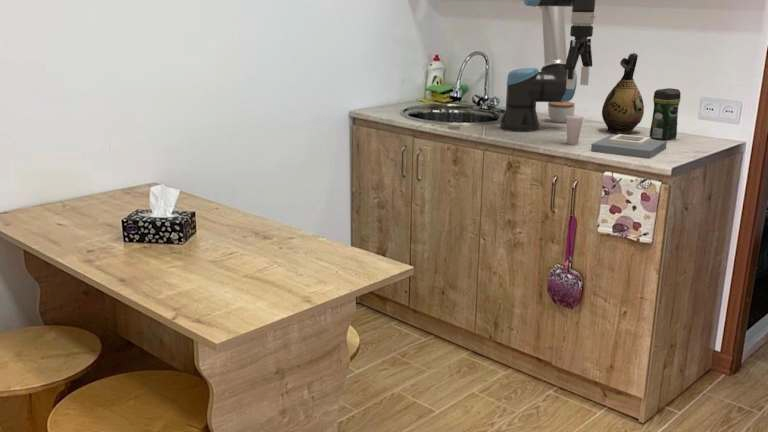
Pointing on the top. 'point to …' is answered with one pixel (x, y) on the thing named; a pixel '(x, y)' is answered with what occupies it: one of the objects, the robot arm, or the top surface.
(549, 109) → the lidded jar
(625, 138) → the plinth
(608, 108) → the ceramic jug
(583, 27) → the robot arm
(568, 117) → the smoothie
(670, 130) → the coffee jar
